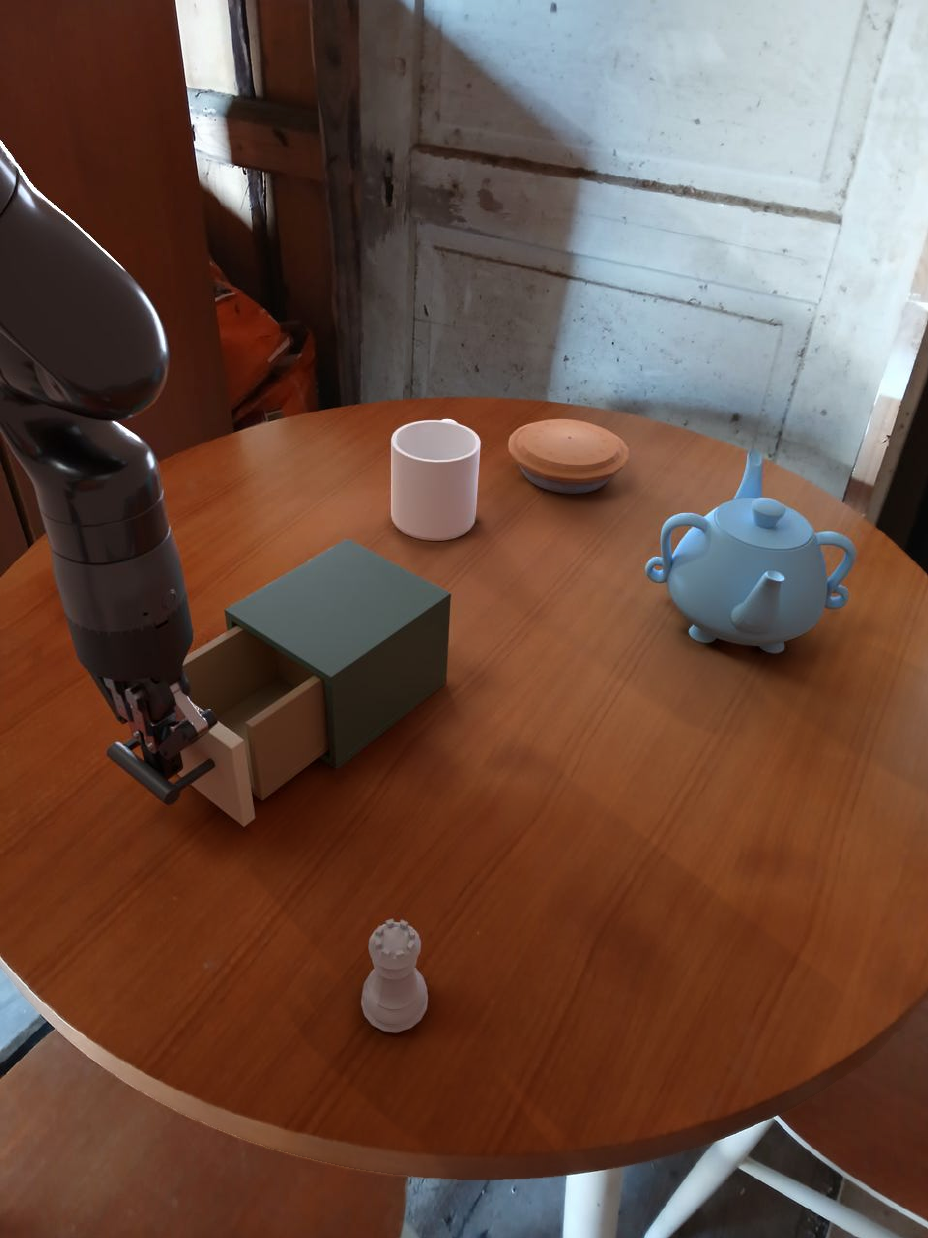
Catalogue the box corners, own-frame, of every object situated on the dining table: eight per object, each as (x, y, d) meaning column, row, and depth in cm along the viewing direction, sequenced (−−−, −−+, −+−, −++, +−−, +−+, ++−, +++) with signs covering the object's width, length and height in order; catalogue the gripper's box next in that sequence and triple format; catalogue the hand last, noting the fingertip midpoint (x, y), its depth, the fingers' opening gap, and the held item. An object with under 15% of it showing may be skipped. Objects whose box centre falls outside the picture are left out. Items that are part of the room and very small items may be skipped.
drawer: (194, 866, 67) (177, 787, 62) (103, 787, 72) (79, 709, 67) (364, 733, 78) (362, 656, 73) (275, 673, 84) (267, 598, 78)
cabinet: (336, 770, 76) (331, 677, 70) (237, 701, 82) (223, 609, 75) (446, 682, 85) (451, 593, 79) (350, 625, 91) (347, 537, 85)
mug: (465, 547, 103) (470, 468, 97) (380, 533, 104) (380, 454, 98) (487, 493, 113) (492, 417, 106) (409, 481, 114) (410, 405, 108)
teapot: (737, 697, 86) (778, 578, 77) (614, 586, 99) (636, 473, 90) (856, 649, 92) (905, 534, 84) (725, 550, 105) (756, 442, 97)
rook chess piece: (398, 1050, 58) (398, 985, 53) (347, 1008, 60) (342, 941, 55) (441, 998, 61) (445, 932, 56) (391, 960, 63) (391, 892, 58)
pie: (631, 506, 112) (638, 471, 109) (506, 499, 112) (509, 463, 109) (618, 447, 124) (624, 413, 121) (505, 440, 124) (508, 407, 121)
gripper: (12, 574, 59) (71, 757, 69) (137, 665, 52) (180, 850, 63) (113, 528, 63) (153, 706, 74) (238, 607, 57) (262, 788, 68)
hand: (166, 772), depth 69 cm, fingers closed
